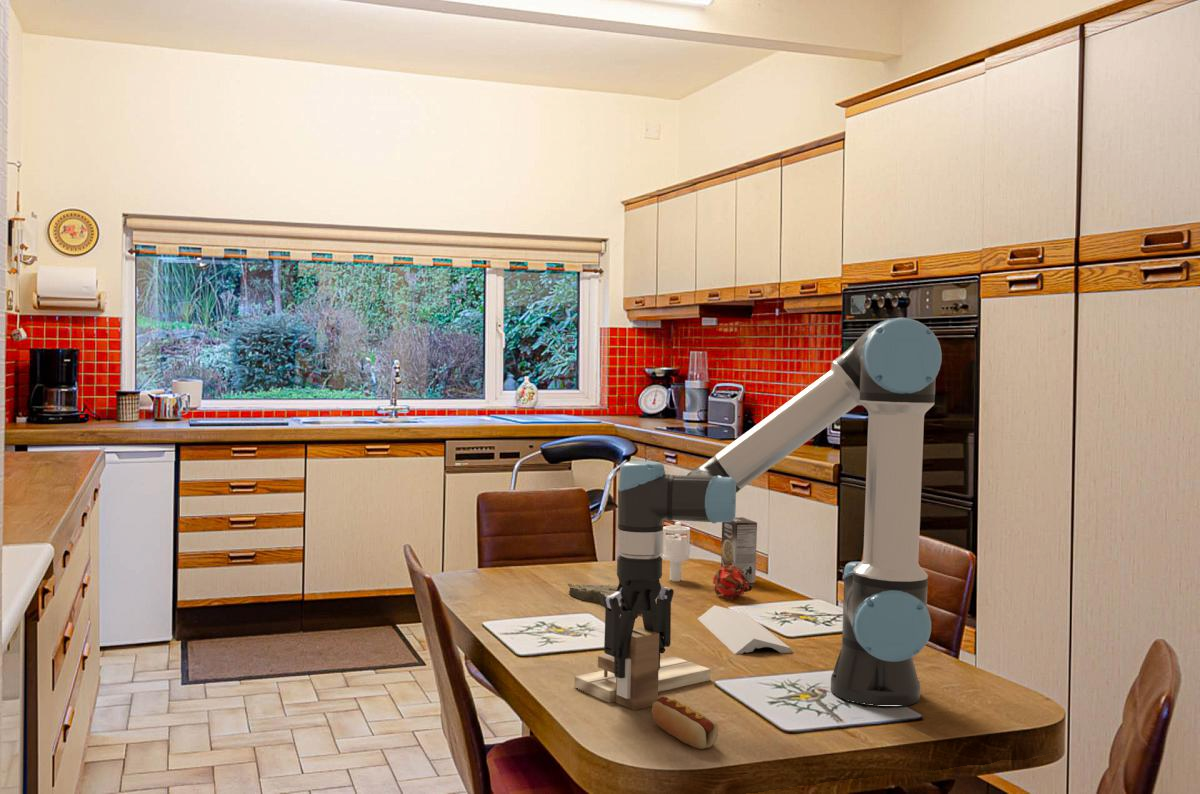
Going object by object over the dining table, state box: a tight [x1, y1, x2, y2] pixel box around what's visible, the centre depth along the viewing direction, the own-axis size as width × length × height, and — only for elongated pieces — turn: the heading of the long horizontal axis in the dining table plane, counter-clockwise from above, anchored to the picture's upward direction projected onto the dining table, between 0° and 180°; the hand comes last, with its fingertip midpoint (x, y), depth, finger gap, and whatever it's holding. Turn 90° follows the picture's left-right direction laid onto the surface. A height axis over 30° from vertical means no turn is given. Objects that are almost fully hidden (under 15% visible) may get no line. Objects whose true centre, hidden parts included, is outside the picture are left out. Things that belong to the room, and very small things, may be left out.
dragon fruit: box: [712, 565, 753, 601], centre depth 259 cm, size 8×8×12 cm
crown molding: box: [697, 605, 794, 655], centre depth 223 cm, size 29×12×4 cm, turn 10°
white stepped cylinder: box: [661, 521, 691, 582], centre depth 278 cm, size 7×7×15 cm
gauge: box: [597, 626, 659, 711], centre depth 179 cm, size 12×5×12 cm, turn 37°
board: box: [574, 656, 712, 704], centre depth 187 cm, size 10×23×2 cm, turn 127°
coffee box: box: [720, 516, 758, 584], centre depth 280 cm, size 9×6×16 cm
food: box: [651, 696, 719, 750], centre depth 161 cm, size 14×6×5 cm, turn 29°
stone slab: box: [567, 582, 631, 612], centre depth 252 cm, size 27×12×5 cm, turn 39°
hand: (636, 693), depth 176 cm, fingers closed on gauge, 5 cm apart
